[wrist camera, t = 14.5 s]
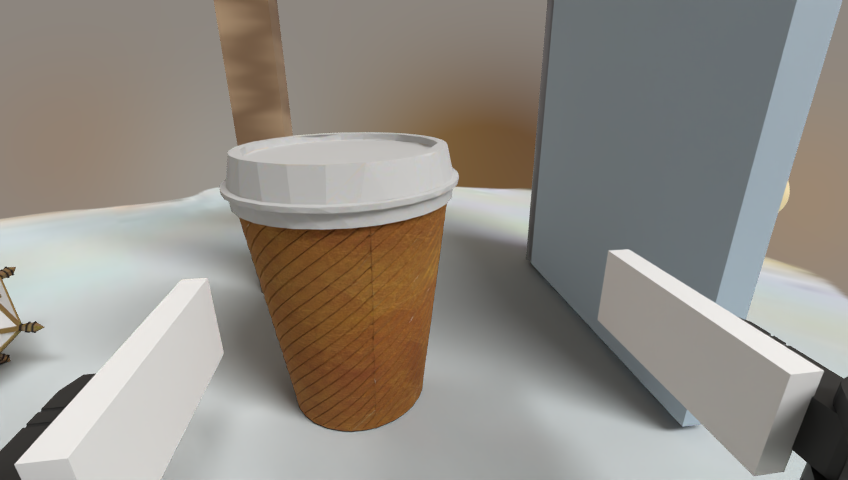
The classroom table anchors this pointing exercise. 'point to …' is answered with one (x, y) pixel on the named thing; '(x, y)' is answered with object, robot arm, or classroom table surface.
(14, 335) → the game die
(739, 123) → the door
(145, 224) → the classroom table surface
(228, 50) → the door frame
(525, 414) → the classroom table surface
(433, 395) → the classroom table surface
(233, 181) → the disposable coffee cup
